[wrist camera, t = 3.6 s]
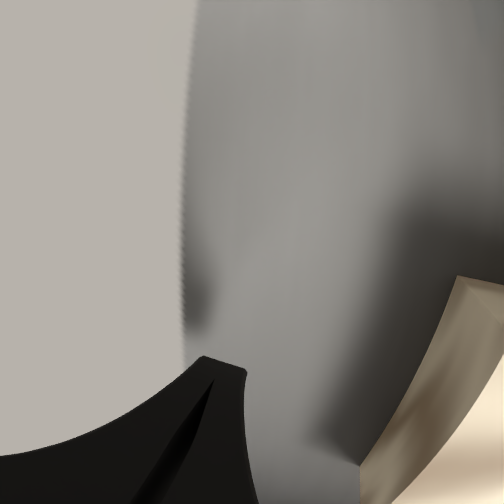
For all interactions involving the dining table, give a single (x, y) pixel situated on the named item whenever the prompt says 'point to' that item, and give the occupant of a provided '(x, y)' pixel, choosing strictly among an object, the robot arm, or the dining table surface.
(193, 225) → the dining table surface
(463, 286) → the maple block
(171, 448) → the robot arm
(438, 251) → the dining table surface
